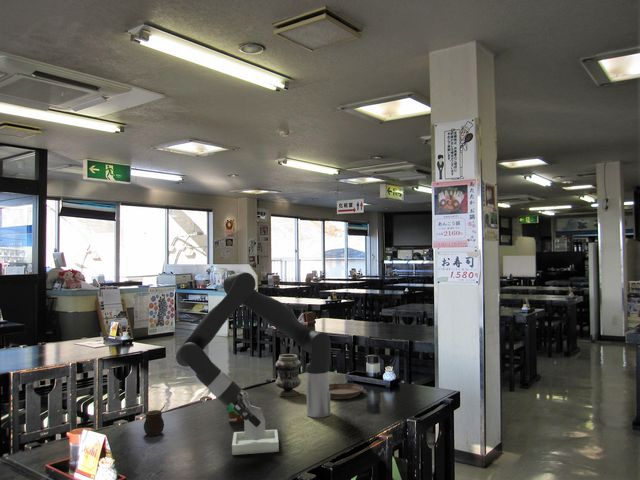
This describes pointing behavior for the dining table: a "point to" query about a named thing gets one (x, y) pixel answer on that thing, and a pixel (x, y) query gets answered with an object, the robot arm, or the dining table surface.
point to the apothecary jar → (288, 374)
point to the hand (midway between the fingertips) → (258, 420)
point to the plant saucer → (344, 390)
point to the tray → (255, 443)
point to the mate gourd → (154, 422)
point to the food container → (233, 415)
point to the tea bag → (250, 429)
